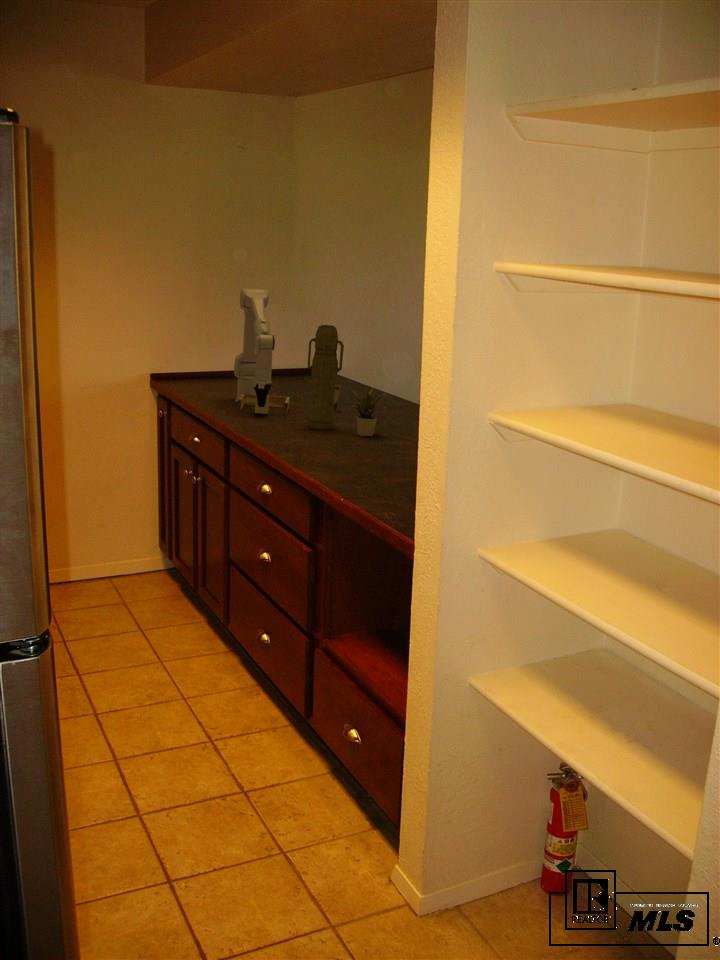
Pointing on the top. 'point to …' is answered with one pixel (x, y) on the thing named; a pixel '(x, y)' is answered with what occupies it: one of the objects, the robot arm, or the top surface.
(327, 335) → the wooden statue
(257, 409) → the sage block
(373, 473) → the top surface
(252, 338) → the robot arm
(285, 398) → the open crate
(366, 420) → the house plant
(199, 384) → the top surface
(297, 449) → the top surface
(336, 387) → the food container
